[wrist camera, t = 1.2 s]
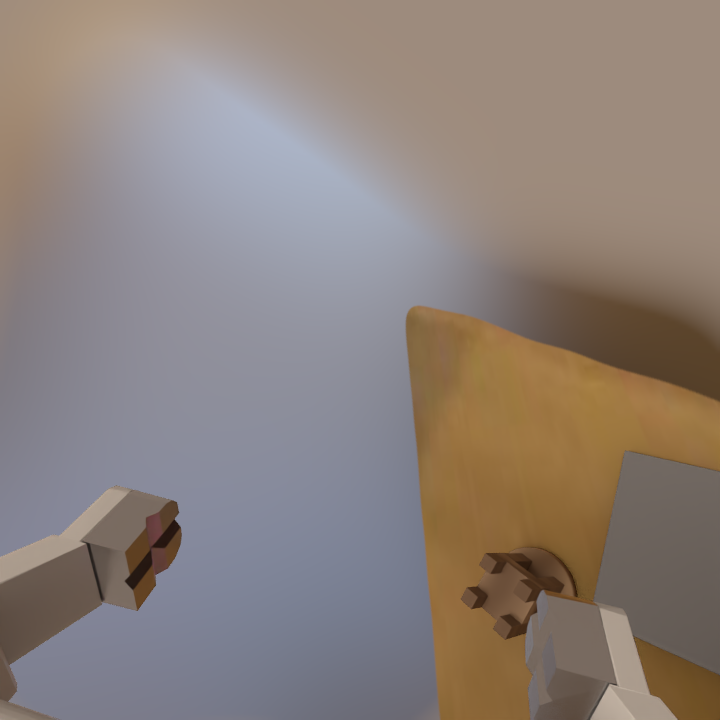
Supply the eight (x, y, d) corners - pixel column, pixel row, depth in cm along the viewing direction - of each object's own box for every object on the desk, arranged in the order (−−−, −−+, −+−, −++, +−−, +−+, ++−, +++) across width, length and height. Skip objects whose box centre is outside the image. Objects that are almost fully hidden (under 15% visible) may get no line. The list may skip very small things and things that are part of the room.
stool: (591, 581, 41) (557, 586, 35) (552, 651, 41) (511, 669, 35) (521, 532, 46) (480, 528, 39) (487, 595, 46) (440, 601, 40)
